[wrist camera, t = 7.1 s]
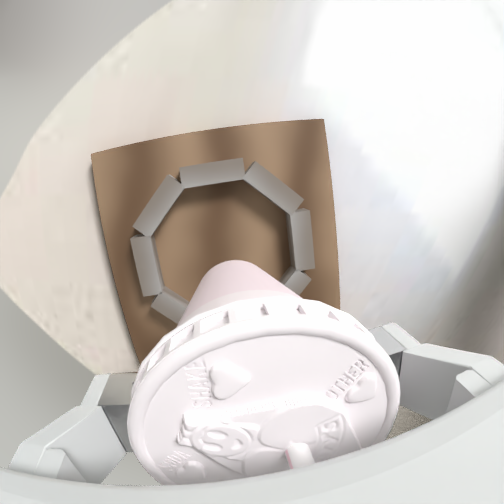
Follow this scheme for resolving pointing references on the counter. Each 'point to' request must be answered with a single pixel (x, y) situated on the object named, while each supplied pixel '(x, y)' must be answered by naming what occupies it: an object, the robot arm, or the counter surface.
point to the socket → (216, 216)
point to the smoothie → (258, 384)
